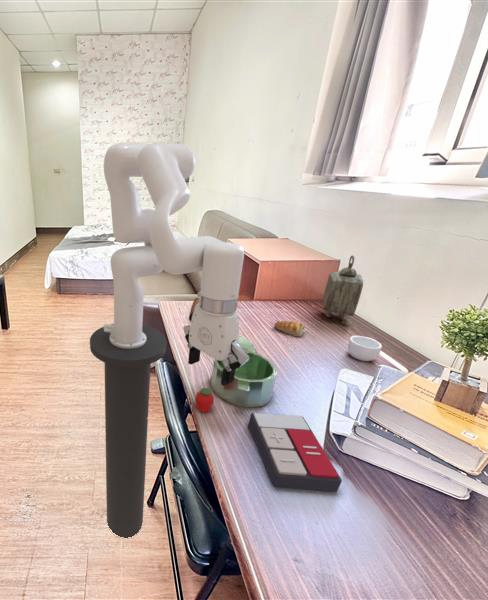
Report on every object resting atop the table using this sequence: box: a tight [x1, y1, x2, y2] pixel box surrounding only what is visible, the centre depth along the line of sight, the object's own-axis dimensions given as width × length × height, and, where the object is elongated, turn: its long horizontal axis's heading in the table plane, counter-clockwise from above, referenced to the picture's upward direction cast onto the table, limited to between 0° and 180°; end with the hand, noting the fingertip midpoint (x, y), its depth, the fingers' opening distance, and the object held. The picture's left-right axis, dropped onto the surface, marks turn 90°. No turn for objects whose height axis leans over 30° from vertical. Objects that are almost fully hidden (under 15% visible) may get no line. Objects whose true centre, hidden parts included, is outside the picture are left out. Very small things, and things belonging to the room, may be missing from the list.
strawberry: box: [195, 387, 215, 413], centre depth 74 cm, size 4×4×5 cm
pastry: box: [274, 320, 306, 337], centre depth 111 cm, size 9×7×4 cm
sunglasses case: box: [188, 297, 200, 322], centre depth 124 cm, size 18×7×7 cm
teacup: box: [347, 335, 383, 362], centre depth 95 cm, size 10×8×5 cm
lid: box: [238, 335, 256, 353], centre depth 100 cm, size 16×16×6 cm
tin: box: [210, 347, 278, 408], centre depth 80 cm, size 15×20×8 cm
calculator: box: [247, 412, 343, 493], centre depth 61 cm, size 11×4×15 cm
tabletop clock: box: [322, 255, 364, 326], centre depth 116 cm, size 14×9×25 cm, turn 150°
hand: (209, 372), depth 71 cm, fingers open, 9 cm apart
